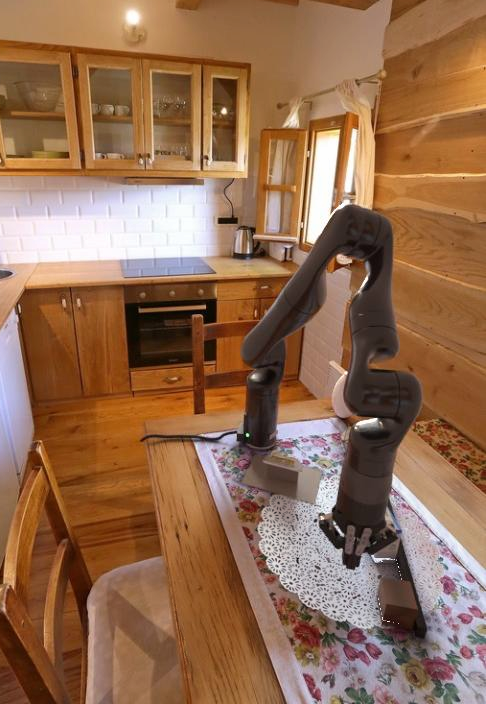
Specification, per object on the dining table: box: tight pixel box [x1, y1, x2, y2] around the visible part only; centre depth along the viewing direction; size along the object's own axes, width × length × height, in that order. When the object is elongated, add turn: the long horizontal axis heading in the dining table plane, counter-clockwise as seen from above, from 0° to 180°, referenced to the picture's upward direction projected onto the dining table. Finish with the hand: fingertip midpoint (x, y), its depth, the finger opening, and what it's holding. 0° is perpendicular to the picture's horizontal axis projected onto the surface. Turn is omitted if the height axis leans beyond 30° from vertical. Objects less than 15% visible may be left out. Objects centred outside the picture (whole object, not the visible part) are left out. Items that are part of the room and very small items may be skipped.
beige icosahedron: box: [337, 423, 352, 456], centre depth 111 cm, size 9×8×10 cm
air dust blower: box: [331, 371, 353, 419], centre depth 126 cm, size 8×8×18 cm
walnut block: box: [376, 576, 418, 631], centre depth 70 cm, size 5×5×5 cm
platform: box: [241, 450, 323, 505], centre depth 101 cm, size 12×18×7 cm, turn 69°
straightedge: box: [387, 498, 428, 639], centre depth 82 cm, size 2×32×2 cm, turn 170°
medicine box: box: [373, 507, 403, 564], centre depth 82 cm, size 8×4×9 cm, turn 5°
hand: (349, 565), depth 70 cm, fingers closed
